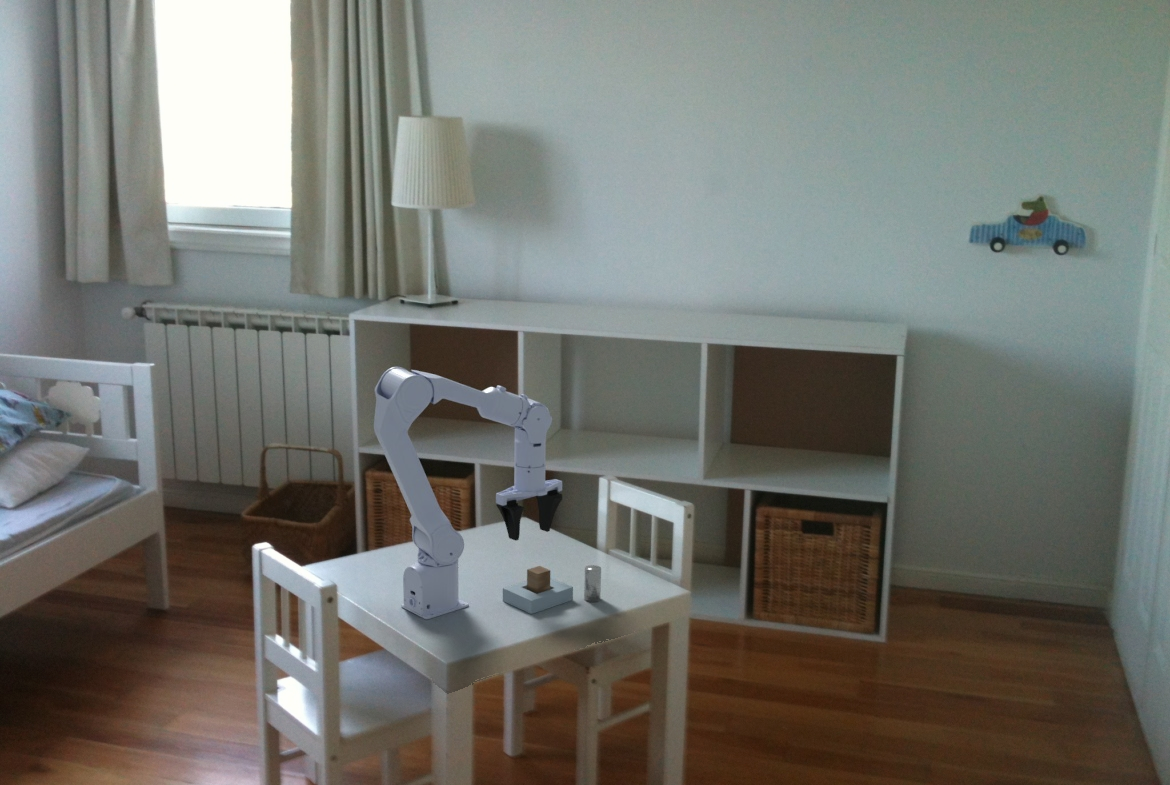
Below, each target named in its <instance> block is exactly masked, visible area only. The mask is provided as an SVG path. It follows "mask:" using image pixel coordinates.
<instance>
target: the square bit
mask: <svg viewBox="0 0 1170 785" xmlns="http://www.w3.org/2000/svg"><path fill="white" fill-rule="evenodd" d="M550 578H551V570H550V569H548V568H545V567H543V566H541V565H537V566H535V567H531V568H528V569H527V570H526V581H527V590H529V591H531V592H533V593H536V594H538V593H541V592H544V591H547V590H550Z"/></svg>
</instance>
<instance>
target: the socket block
mask: <svg viewBox="0 0 1170 785" xmlns="http://www.w3.org/2000/svg"><path fill="white" fill-rule="evenodd" d="M571 601H574V587H573V586H572V585H569V584H566V583H564V582H563V581H559V580H557V579H554V578H552V577H550V590H547V591H544V592H541V593H538V594H536V593H533V592H531V591H529V590H527V580H524V581H521V582H518V583H515V584H510V585H508V586H505V587H503V588H502V602H504V603H506V604H508V605H511V606H512V607H515V608H517V609H519V610H522V611H524V612H526V613H528V614H530V615H532V614H536V613H539V612H542V611H545V610H547V609H550V608H553V607H556V606H559V605H562V604H565V603H568V602H571Z"/></svg>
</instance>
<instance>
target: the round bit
mask: <svg viewBox="0 0 1170 785" xmlns="http://www.w3.org/2000/svg"><path fill="white" fill-rule="evenodd" d="M583 582H584V583H583V584H584V587H583V588H584V590H583V593H584V594H583V600H584V601H585V602H588V603H598V602H600V601H601V588H602V585H601V582H602V567H601V566H599V565H593V564H590V565H586V566H585V567H584V581H583Z"/></svg>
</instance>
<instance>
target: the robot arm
mask: <svg viewBox="0 0 1170 785" xmlns="http://www.w3.org/2000/svg"><path fill="white" fill-rule="evenodd" d="M374 394H375V400H376V401H375V411H374V418H373V419H374V421H373V430H374V435H375V436H376V438H377V441H378V442H379V445H380V448H381V449H382V452H383V454H384V456H385V458H386V461H387V464H388V465H389V468H390V470H391V472H392V474H393V476H394V480H396V483H397V485H398V488H399V491H400V492H401V495H402V497H403V499H404V501H405V504H406V505H407V509H408V510H409V512H410V515H411V516H410V518H409V522H410V524H411V527H412V533H411V536H412V537H411V539H412V542H413V544H414V546H416V547H417V549H418V553H417V560H416V561H415V562H414V563H413V564H411V565H410V566H407V567H406V568H405V570H404V572H403V577H402V578H403V579H402V582H403V603H401V604H400V606H401V608H402V609H404V610H406V611H409V612H410V613H412V614H415V615H417V616H418V617H420V618H421V619H424V620H430V619H433V618H435V617H436V618H437V617H440V616H442V615H446V614H449V613H453V612H456V611H458V610H461V609H464V608H468V607H469V603H468V602H466V601H464V600H462V599H460V598H459V559H460V558H461V556H462V554H463V553H464V550H465V541H464V538H463V536H462V534H461V533H459V532H458V531H457V530H455V529H454V527H453V526H452V524H451V521H450V520H449V517H447V516H446V514H445V513H444V512H443V510H442V509H441V507H440V504H439V502H438V500H437V497H436V495H435V492H434V491H433V489H432V486H431V484H430V481H429V479H428V477H427V475H426V473H425V469H424V467H423V465H422V462H421V461H420V459H419V456H418V453H417V451H416V449H415V447H414V444H413V442H412V440H411V437H410V436H409V430H410V428H411V425H412V423H413V422H415V421H416V419H417V418H418V417H419V416H420V415H421V414H422V413H423V411H424V410H425V409H426V408H427V407H428V406H429V404H430V403H431V404H433V405H435V404H437V403H439V402H440V401H441V400H442V399H443V400H448V401H450V402H451V401H452V402H455V403H458V404H462V405H465V406H470V407H472V408H476V410H477V412H478V413H479V416H480V417H481V418H484V419H487V420H490V421H492V422H496V423H500V424H503V425H506V426H510V427H513V428H514V457H513V458H514V466H513V467H514V472H513V473H514V475H513V476H514V481H513V482H514V485H512V486H510V487H508V488H506V489H504V490H501V491H499V492H496V493H495V504H496V507H497V509H498V511H499V512H500V514H501V516H502V518H503V521H504V524H505V528H506V531H507V535H508V538H509V540H513V541H519V538H520V531H521V530H520V529H521V528H520V527H521V519H522V515H523V512H524V508H525V507H524V506H521V505H519V503H518V502H517V501H522V500H525V499H530V498H533V497H536V502H537V507H538V508H537V509H538V525H539V530H541V531H544V532H547V533H548V532H550V530H551V526H552V523H553V520H554V517H555V513H556V512H557V509H558V507H559V506H560V503H561V502H562V500H563V494H562V493H559V492H562V491H563V480H559V479H556V478H554V479H549V480H548V479H547V480H546V452H547V451H546V450H547V449H546V448H547V447H546V445H547V432H548V431H549V429H550V427H551V425H552V422H553V417H552V416H551V413H550V410H549V408H548V407H547V406H546V405H545V404H544V403H542V402H539V401H537V400H534V399H531V398H529V396H528V395H526V394H523V393H520V394H519V395H518V394H516V393H513V392H510V391H507V388H506V387H504V386H502V385H496V387H494V386H489V387H487V388H485V389H483V390H480V389H476V388H474V387H471V386H469V385H466V384H462V383H459V382H458V381H454V380H452V379H449V378H446V377H443V376H440V375H438V374H433V373H430V372H425V371H421V370H420V371H419V370H416V369H411V370H407V369H406V368H404V367H401V366H392V367H390V368H388V369H387V370H386V371H384V372H383V373H382V375H381V376H380V378H379V380H378V382H377V384H376V386H375V387H374Z"/></svg>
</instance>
